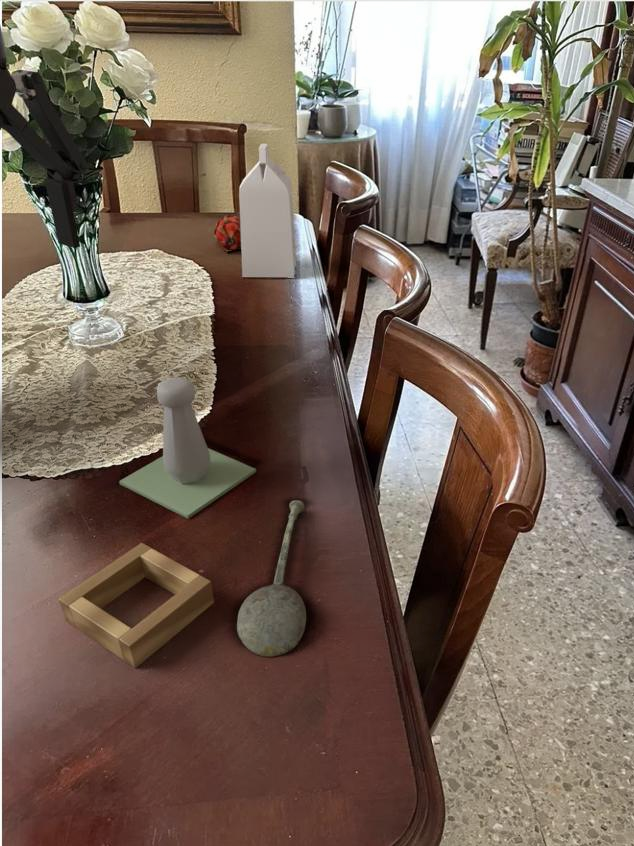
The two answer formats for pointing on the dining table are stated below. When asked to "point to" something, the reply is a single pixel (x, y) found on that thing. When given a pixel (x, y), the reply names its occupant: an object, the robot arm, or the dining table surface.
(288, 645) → the soupspoon
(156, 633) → the frame
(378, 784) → the dining table surface
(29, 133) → the robot arm
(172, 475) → the salt shaker
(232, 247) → the dragon fruit
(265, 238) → the milk
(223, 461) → the mat
